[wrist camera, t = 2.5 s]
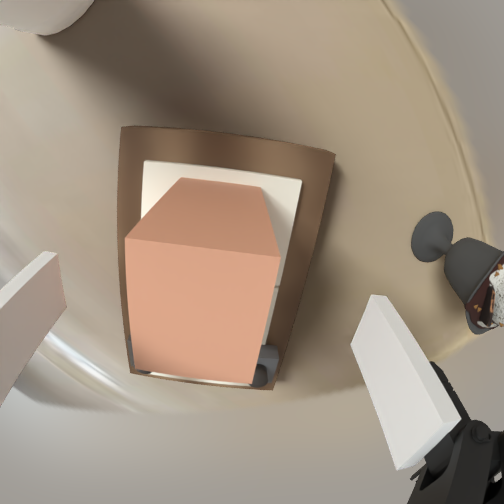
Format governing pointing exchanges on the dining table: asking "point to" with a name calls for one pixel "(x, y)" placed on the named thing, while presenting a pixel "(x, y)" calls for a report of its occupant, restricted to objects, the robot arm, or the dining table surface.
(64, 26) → the bottle
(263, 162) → the board
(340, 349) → the dining table surface
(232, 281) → the stub
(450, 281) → the sundae
